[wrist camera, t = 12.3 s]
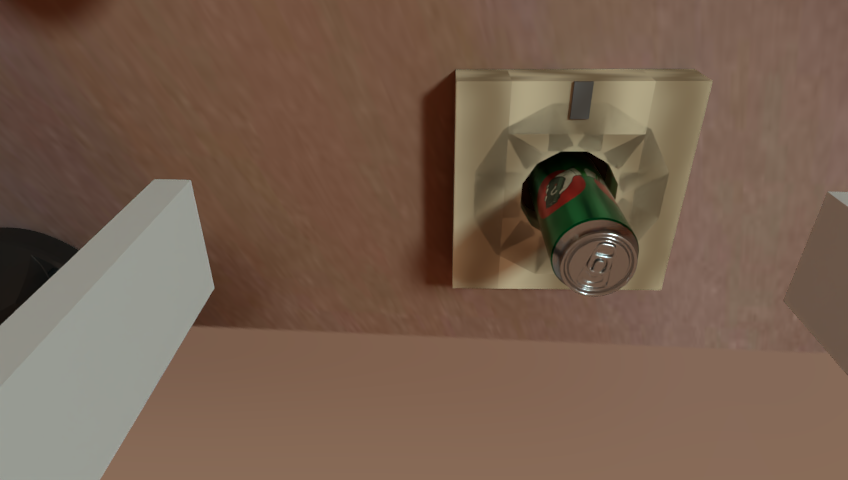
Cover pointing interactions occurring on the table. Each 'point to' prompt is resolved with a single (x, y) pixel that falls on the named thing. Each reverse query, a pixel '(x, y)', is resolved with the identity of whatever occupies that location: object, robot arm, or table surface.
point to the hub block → (568, 131)
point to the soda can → (582, 225)
